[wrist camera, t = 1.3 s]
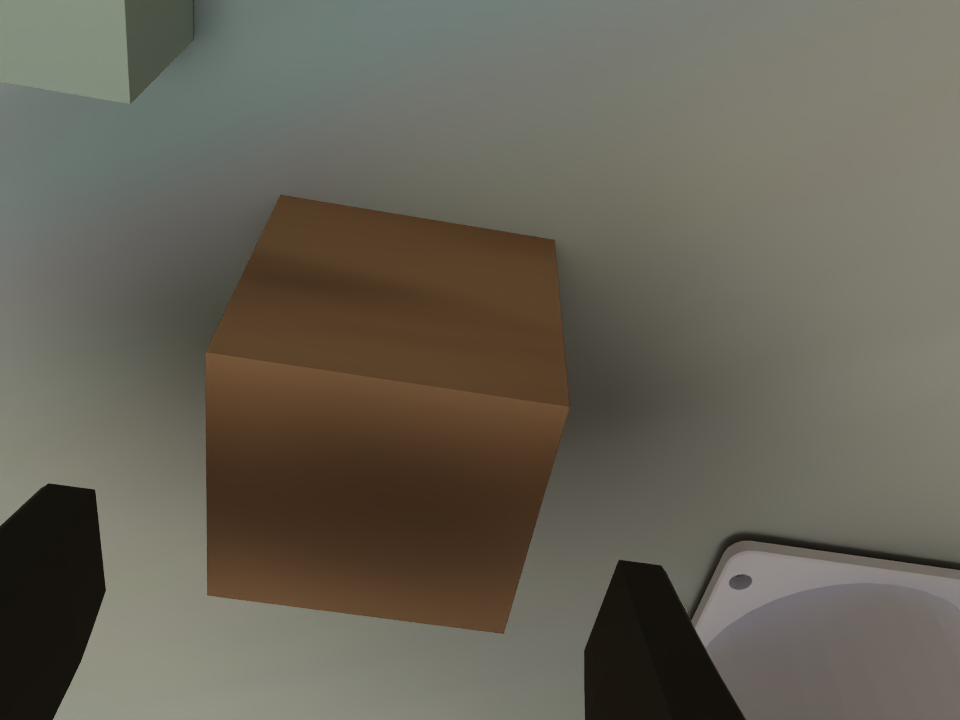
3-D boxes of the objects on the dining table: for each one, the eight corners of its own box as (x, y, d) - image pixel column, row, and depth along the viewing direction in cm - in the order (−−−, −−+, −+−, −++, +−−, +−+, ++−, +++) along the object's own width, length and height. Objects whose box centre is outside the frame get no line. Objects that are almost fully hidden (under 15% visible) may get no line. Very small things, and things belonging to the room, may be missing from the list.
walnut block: (504, 442, 19) (503, 633, 15) (271, 408, 19) (207, 595, 15) (554, 238, 17) (569, 406, 12) (281, 193, 16) (204, 352, 12)
